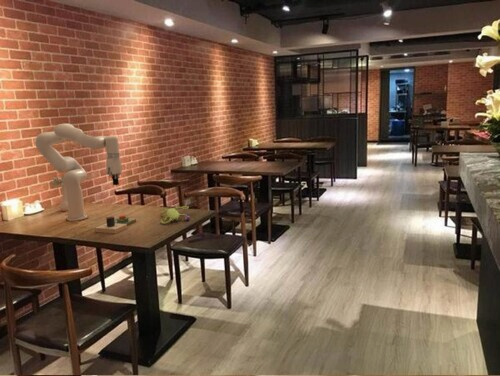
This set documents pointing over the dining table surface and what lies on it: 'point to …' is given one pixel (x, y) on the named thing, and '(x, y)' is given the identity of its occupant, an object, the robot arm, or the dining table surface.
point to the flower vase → (64, 202)
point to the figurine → (174, 214)
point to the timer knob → (110, 221)
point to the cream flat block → (111, 228)
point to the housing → (125, 221)
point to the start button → (122, 217)
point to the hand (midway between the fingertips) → (116, 184)
